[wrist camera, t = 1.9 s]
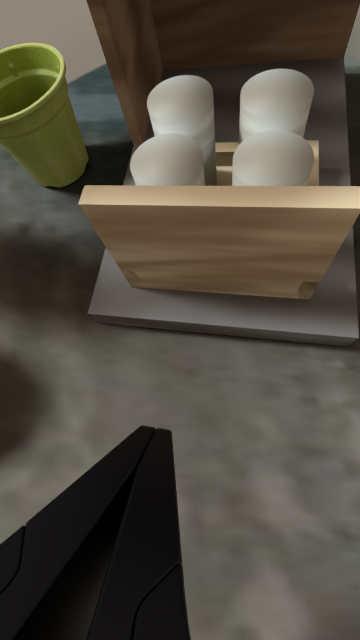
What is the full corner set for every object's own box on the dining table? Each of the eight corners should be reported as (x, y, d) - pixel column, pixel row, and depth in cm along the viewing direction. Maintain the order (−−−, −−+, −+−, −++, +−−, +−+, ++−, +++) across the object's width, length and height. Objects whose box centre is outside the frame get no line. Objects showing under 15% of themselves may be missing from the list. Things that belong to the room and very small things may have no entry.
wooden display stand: (347, 346, 21) (672, 95, 6) (97, 322, 25) (-121, 129, 9) (336, 73, 31) (444, -291, 16) (159, 84, 35) (103, -202, 19)
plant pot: (121, 167, 31) (83, 73, 23) (43, 218, 30) (-24, 138, 22) (79, 123, 35) (34, 29, 27) (8, 167, 34) (-60, 83, 26)
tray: (309, 299, 21) (362, 208, 13) (131, 286, 23) (78, 204, 15) (310, 167, 25) (350, 33, 17) (158, 168, 28) (128, 52, 19)
